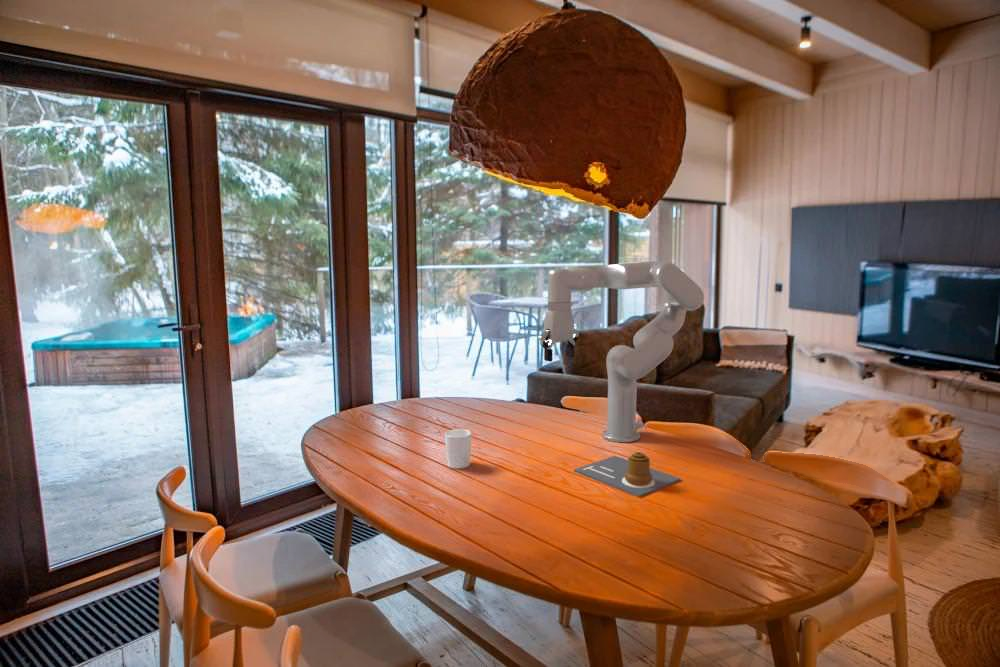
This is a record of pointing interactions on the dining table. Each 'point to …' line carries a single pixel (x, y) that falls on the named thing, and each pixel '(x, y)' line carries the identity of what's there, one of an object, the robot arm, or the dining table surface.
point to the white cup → (458, 448)
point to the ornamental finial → (638, 470)
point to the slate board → (614, 475)
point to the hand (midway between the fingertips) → (559, 358)
